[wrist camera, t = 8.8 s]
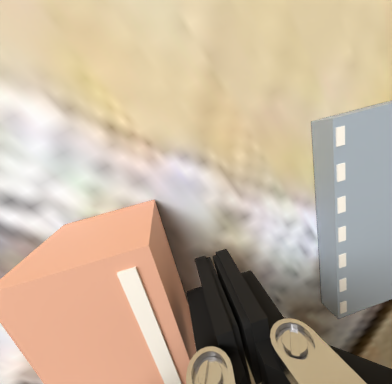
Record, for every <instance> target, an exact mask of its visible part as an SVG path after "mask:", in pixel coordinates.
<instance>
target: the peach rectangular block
mask: <svg viewBox="0 0 392 384" xmlns="http://www.w3.org/2000/svg"><path fill="white" fill-rule="evenodd" d="M0 323H1V324H2V326H3V327H4V328H5V330H6V331H7V333H8V334H9V335H10V337H11V338H12V340H13V341H14V342H15V344H16V345H17V347H18V348H19V349H20V351H21V352H22V354H23V355H24V356H25V358H26V359H27V361H28V362H29V363H30V365H31V366H32V368H33V369H34V370H35V372H36V373H37V375H38V376H39V377H40V379H41V380H42V382H43V383H44V384H186V374H187V367H188V365H189V362H190V360H191V358H192V357H193V356H194V354H195V353H196V347H195V341H194V335H193V328H192V322H191V316H190V310H189V305H188V302H187V299H186V296H185V293H184V289H183V286H182V283H181V280H180V277H179V274H178V271H177V268H176V265H175V261H174V258H173V255H172V252H171V249H170V246H169V243H168V240H167V236H166V233H165V230H164V227H163V224H162V221H161V218H160V215H159V212H158V208H157V205H156V202H155V200H151V201H148V202H144V203H140V204H137V205H133V206H130V207H126V208H122V209H119V210H115V211H112V212H108V213H105V214H101V215H97V216H94V217H90V218H87V219H83V220H79V221H76V222H72V223H69V224H65V225H63V226H62V227H61V228H60V229H59V230H57V231H56V232H55V233H54V234H53V235H52V236H50V237H49V238H48V239H47V240H46V241H45V242H43V243H42V244H41V245H40V246H39V247H38V248H36V249H35V250H34V251H33V252H32V253H31V254H29V255H28V256H27V257H26V258H25V259H23V260H22V261H21V262H20V263H19V264H18V265H16V266H15V267H14V268H13V269H12V270H11V271H9V272H8V273H7V274H6V275H5V276H4V277H2V278H1V279H0Z"/></svg>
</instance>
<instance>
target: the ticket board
mask: <svg viewBox="0 0 392 384" xmlns="http://www.w3.org/2000/svg"><path fill="white" fill-rule="evenodd" d="M311 126H312V143H313V160H314V177H315V194H316V211H317V229H318V246H319V263H320V280H321V297H322V303H323V304H324V305H325V306H326V307H327V308H328V309H329V310H330V311H331V312H332V313H333V314H334V315H335V316H336V317H337V318H338V319H340V318H343V317H345V316H348V315H351V314H353V313H356V312H359V311H361V310H364V309H367V308H369V307H372V306H375V305H377V304H380V303H383V302H385V301H388V300H391V299H392V101H388V102H384V103H380V104H376V105H372V106H369V107H365V108H361V109H357V110H353V111H349V112H346V113H342V114H338V115H334V116H330V117H326V118H323V119H319V120H315V121H311Z"/></svg>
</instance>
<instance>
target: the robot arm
mask: <svg viewBox="0 0 392 384" xmlns="http://www.w3.org/2000/svg"><path fill="white" fill-rule="evenodd" d="M213 260H214V264H215V268H216V271H215V269H214V266H213V264H212V261H211V259H210V257H209V258H206V257H205V256H202V257H199V258H196V259H195V262H196V266H197V269H198V273H199V277H200V280H201V284H202V287H199V288H196V289H193V290H190V291H187V296H188V303H189V309H190V315H191V321H192V327H193V333H194V339H195V345H196V353H195V354H194V356H193V357H192V358H191V360H190V362H189V365H188V367H187V374H186V384H251V379H250V375H249V371H248V366H247V363H248V365H249V368H250V370H251V373H252V376H253V378H254V381H255V383H256V384H260V383H261V384H392V369H390V368H387V367H384V366H382V365H379V364H377V363H374V362H372V361H369V360H366V359H364V358H361V357H359V356H356V355H353V354H351V353H348V352H346V351H343V350H340V349H338V348H335V347H333V346H330V345H328V344H327V343H326V342H325V341H324V340H323V339H322V338H321V337H320V336H319V335H318V334H317V333H316V332H315V331H314V330H313V329H312V328H310V327H309V326H308V325H307V324H305V323H303V322H301V321H299V320H296V319H292V318H287V319H284V317H283V316H282V315H281V313H280V312H279V310H278V309H277V307H276V306H275V304H274V303H273V301H272V300H271V299H270V297H269V296H268V294H267V293H266V291H265V290H264V288H263V287H262V286H261V284H260V283H259V281H258V280H257V278H256V277H255V275H254V274H253V273H252V271H247V272H244V273H240V271H239V269H238V268H237V266H236V264H235V263H234V261H233V259H232V258H231V256H230V254H229V253H228V251H227V249H224V250H221V251H218V252H216V255H215V256H213ZM216 272H217V274H216ZM245 357H246V358H245ZM246 360H247V362H246Z"/></svg>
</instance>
